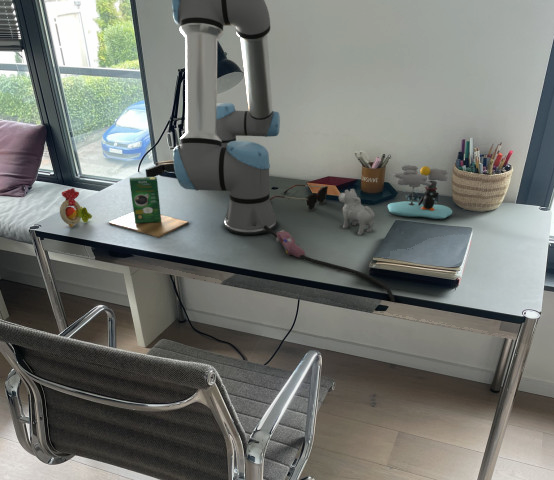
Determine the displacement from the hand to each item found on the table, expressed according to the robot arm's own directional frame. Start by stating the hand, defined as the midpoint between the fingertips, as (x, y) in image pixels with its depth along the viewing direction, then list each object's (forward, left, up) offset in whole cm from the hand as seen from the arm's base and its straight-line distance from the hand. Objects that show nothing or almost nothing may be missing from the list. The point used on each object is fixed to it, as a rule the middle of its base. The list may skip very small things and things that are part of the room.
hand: (163, 177), depth 169 cm
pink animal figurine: (-47, +4, -12) cm, 48 cm away
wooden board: (0, +9, -12) cm, 14 cm away
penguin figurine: (-66, -42, -12) cm, 79 cm away
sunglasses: (-28, -31, -12) cm, 44 cm away
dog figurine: (-54, -21, -12) cm, 59 cm away
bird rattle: (+18, +21, -12) cm, 30 cm away
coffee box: (0, +8, -11) cm, 14 cm away
